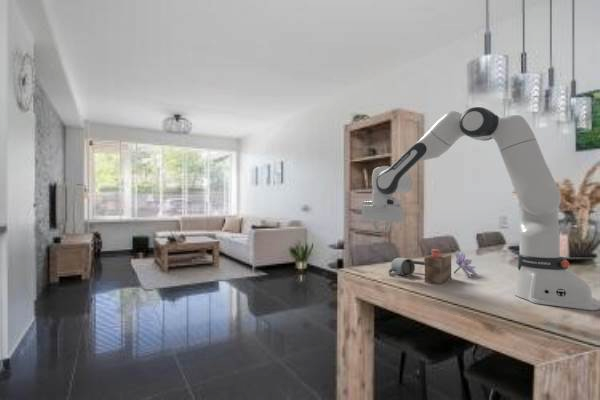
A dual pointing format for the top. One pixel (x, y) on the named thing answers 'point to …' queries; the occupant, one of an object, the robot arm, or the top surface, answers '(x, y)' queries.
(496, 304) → the top surface
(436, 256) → the gauge button
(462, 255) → the water lily
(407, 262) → the ceramic mug
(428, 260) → the brown rectangular block
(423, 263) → the handrail
